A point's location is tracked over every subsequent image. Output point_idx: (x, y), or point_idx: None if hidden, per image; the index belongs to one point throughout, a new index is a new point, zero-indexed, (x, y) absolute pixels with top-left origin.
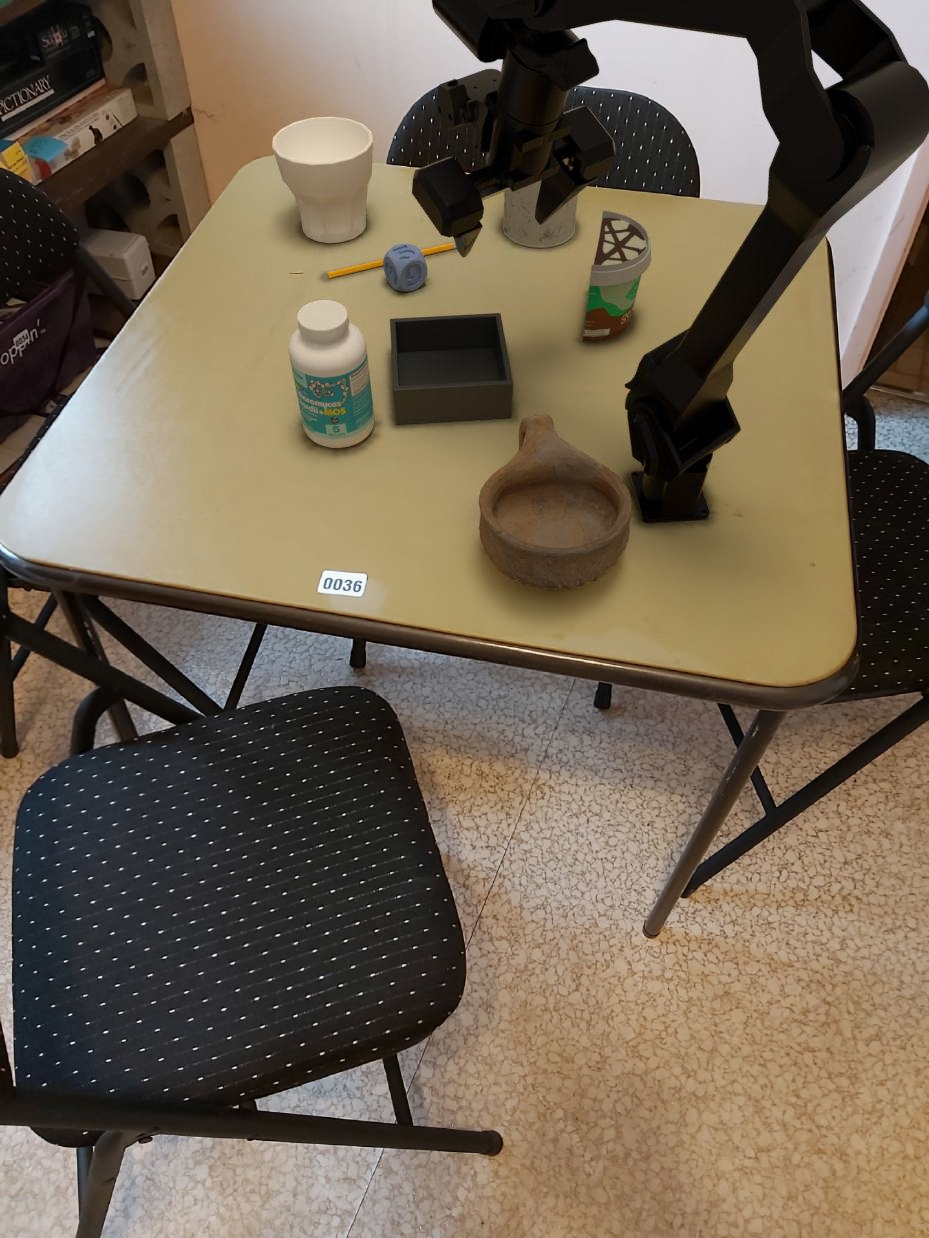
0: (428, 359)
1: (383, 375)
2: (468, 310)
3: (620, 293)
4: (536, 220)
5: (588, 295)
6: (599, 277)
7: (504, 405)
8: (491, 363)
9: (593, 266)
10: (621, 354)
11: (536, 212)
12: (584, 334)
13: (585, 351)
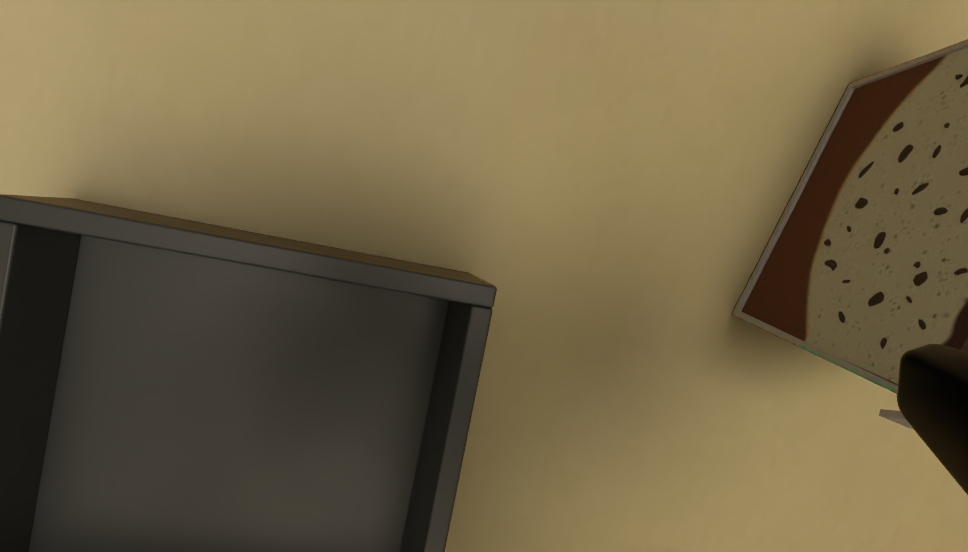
0: (195, 294)
1: None
2: (427, 23)
3: None
4: (900, 370)
5: (847, 368)
6: None
7: None
8: (413, 373)
9: None
10: (811, 404)
11: (950, 387)
12: (749, 320)
13: (721, 363)
